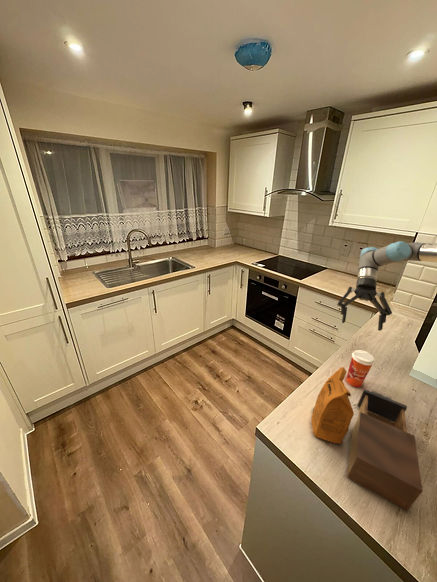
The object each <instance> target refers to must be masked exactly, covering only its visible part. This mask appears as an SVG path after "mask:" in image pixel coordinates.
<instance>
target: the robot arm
mask: <svg viewBox="0 0 437 582" xmlns="http://www.w3.org/2000/svg"><path fill="white" fill-rule="evenodd" d="M409 261H411V262H426V263H427V262H428V263H429V262H430V263H437V242H415V241H414V242H409V243H407V242H405V241H403V240H399V241H396V242H392V243H390V244H388V245H385V246H383V247H382V246H381V247H380V248H377V247H376V246H375V247H374V246H370V247H364V248H363V249H362V250H361V251H360V255H359V261H358V262H359V263H358V269H357V277H356V279H357V280H356V285H355V288H353V287H352V286H349V287H348V288H347V290H346V292H345V294H344V295H343V296H341V299H340V300H339V301H338V302H337V304H336V306H338V307H340V315H342V320H341V323H342V324H345V322H346V320H347V312H348V307H347V306H349V305H350V304H351V303H353V302H354V301H356V300H358V299H359V300H360V301H365V302H370V303H371V304H372V305H373V306H374V308H375V309H376V310H377V311H378V313H379V315H378V325H377V331H382V330H383V328H384V324H385V323H386V322H387V317H388V316H390V315H392V314H393V311H392V309H391V307H390V305H389V303H388V301H387V299H386V296H385V292H384V291H382V292H378V291H377V283H378V276H379V275H378V274H379V267H383V266H387V265H389V264H393V263H401V262H409ZM353 292H354V294H355V295H354V296H352V297H351V298H350V299H348V300H347V301H345V300H346V299H347V298H348V296H349V295H350V294H352V293H353ZM376 296H377V297H376ZM377 298H378V299H379V301H378V299H377ZM344 301H345V302H344ZM343 302H344V303H343Z"/></svg>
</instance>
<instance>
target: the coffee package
mask: <svg viewBox="0 0 437 582" xmlns="http://www.w3.org/2000/svg"><path fill="white" fill-rule="evenodd" d="M346 376H347V370H346V368H345V367H343V366H341V367H339V368H338V369H337V370H336V371H335V372H334V373H333V374H332V375H331V376H330V377H329V378H328V379H327V380H325V382H324V384H323V386H322V387H321V389H320V390H319V393H318V395H317V398H316V400H315V404H314V406H313V409H312V414H311V427H312V432H313V436H314V437H316V438H318V439H320V440H324V441H328V442H330V443H334V444H342V443H343V440H344V438H345V437H346V435H347V434H348V432H349V427H350V425H351V421H352V419H353V417H354V414H355V412H354V409H353V407H352V404H351V401H350V397H352V394H351V392H350V391H349V390H348V388H347V386H346V385H345V383H344V380H345V377H346Z"/></svg>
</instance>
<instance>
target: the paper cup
mask: <svg viewBox="0 0 437 582" xmlns="http://www.w3.org/2000/svg"><path fill="white" fill-rule="evenodd" d="M375 362H376V361H375V358H374V356H373V354H371V353H370V352H369V351H366V350H362V349H355V350H354V351H353V352H352V353H351V359H350V362H349V367H348V371H347V373H346V378H345V379H346V380H345V381H346V382H347V383H348V385H350V386H352V387H354V388H360V387H362V385H363V384H364V381H365V380H366V378H367V376H368V374H369V372H370V370H371V368H372V366H373V365H374V364H375Z"/></svg>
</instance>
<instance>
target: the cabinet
mask: <svg viewBox="0 0 437 582" xmlns="http://www.w3.org/2000/svg"><path fill="white" fill-rule="evenodd" d="M350 437H351V438H350V447H349V456H348V464H347V465H348V466H347V475H346V477H347V478H348V479H349V480H351V481H353V482H355V483H357V484H358V485H360V486H362V487H364V488H365V489H366V490H369V491H370V492H373V493H374V494H376V495H378V496H379V497H381V498H383V499H384V500H387V501H388V502H390V503H392V504H393V505H395V506H397V507H399V508H401V509H402V510H404V511H406V512H408V511H409V510H410V508H411V507H412V506H413V504H414V503H415V502H416V501H417V500H418V498H419V497H420V496H421V494H422V493H423V484H422V478H421V471H420V464H419V457H418V450H417V443H416V436H415V435H414V434H412V433H409V432H408V431H407V432H405V431H403V430H400V429H398V428H396V427H394V426H391V425H389V424H387V423H384V422H382V421H380V420H378V419H375V418H373V417H371V416H368V415H366V414H364V413H362V412H360V414H359V413H358V417H357V419H356V422H355V424H354V426H353V428H352V431H351V436H350Z"/></svg>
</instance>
